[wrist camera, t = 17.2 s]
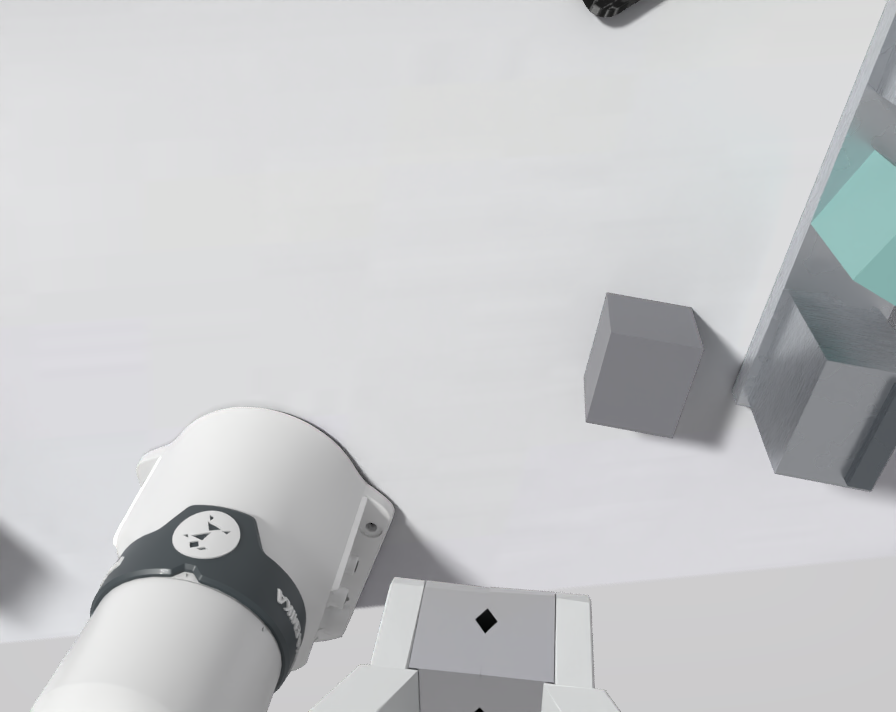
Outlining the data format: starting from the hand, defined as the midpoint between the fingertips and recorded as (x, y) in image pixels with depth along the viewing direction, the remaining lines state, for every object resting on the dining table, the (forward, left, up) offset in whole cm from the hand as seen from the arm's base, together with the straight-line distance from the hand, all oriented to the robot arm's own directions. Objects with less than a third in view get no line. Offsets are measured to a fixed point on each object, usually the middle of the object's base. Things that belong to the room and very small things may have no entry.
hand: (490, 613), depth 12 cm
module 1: (-13, -8, -34) cm, 38 cm away
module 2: (-2, -18, -33) cm, 37 cm away
